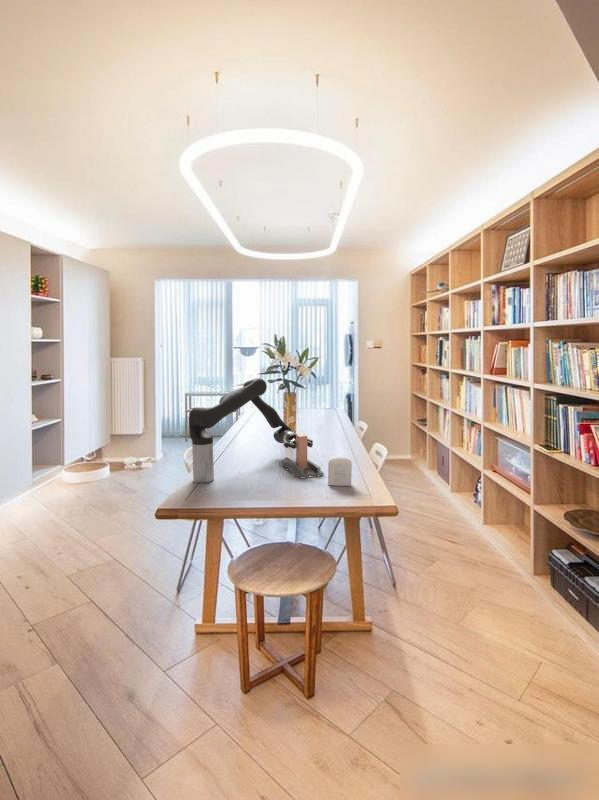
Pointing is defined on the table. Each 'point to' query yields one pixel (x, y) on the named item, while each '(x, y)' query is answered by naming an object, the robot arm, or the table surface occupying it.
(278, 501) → the table surface
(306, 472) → the track
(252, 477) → the table surface
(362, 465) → the table surface
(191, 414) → the robot arm
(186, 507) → the table surface
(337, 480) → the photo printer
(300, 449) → the panel block
